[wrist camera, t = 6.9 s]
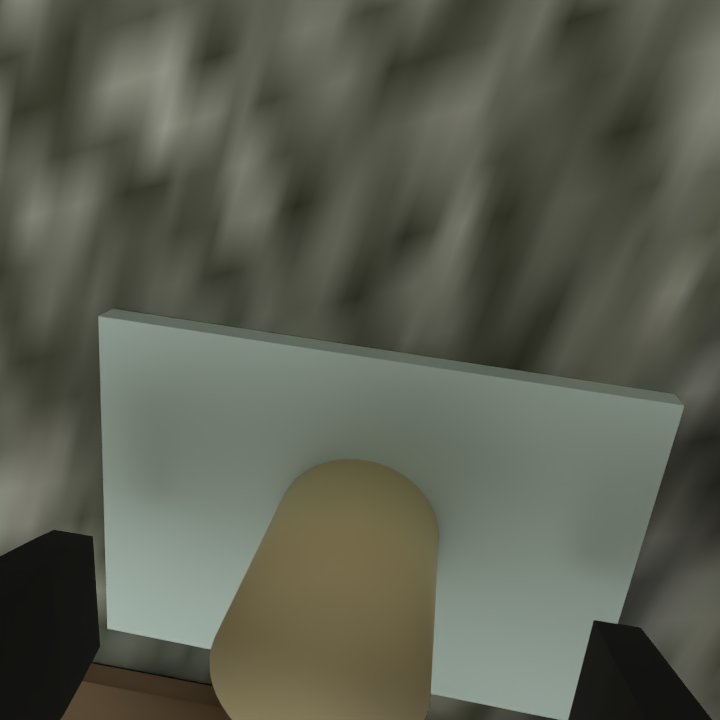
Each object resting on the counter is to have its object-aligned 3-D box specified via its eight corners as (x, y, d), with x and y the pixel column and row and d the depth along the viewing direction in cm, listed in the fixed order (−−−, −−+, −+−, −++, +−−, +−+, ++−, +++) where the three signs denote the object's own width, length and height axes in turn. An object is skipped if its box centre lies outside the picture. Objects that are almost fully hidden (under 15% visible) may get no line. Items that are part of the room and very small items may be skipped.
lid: (666, 382, 11) (786, 531, 7) (578, 684, 14) (630, 931, 9) (126, 302, 12) (-49, 392, 8) (130, 596, 15) (-4, 785, 10)
